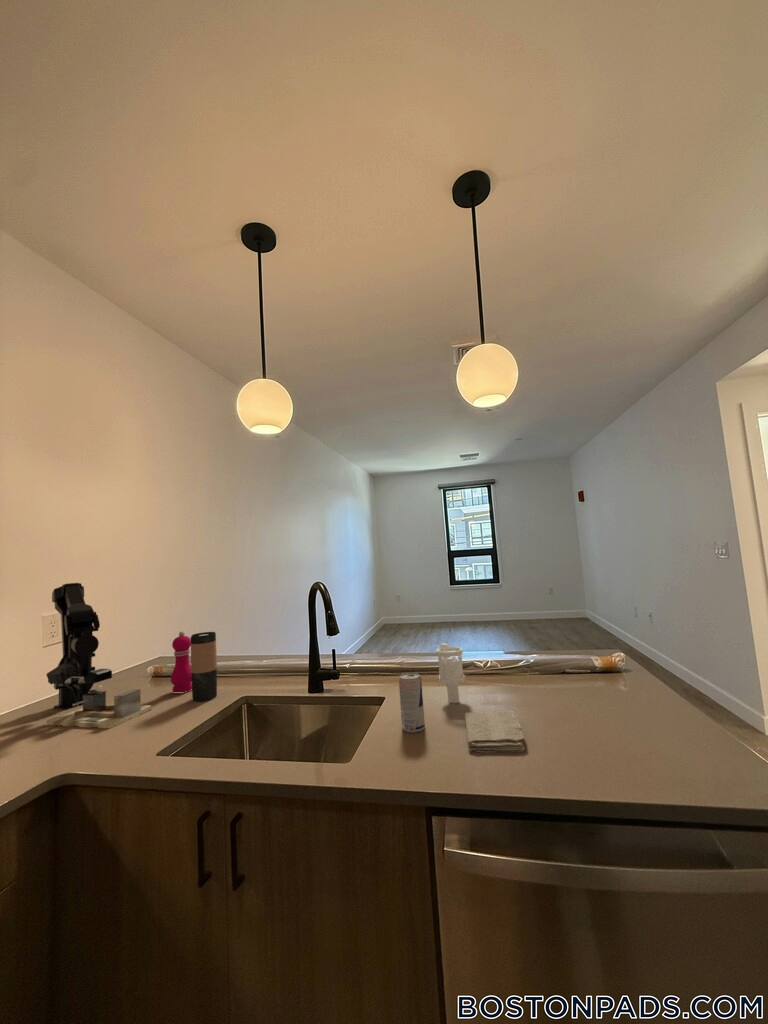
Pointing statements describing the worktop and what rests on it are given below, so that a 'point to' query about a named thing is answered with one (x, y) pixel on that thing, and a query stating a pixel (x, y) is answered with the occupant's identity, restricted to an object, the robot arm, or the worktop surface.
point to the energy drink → (411, 702)
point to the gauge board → (105, 712)
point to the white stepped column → (450, 670)
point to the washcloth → (493, 732)
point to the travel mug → (203, 666)
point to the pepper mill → (181, 664)
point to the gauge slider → (93, 701)
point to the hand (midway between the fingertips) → (80, 705)
